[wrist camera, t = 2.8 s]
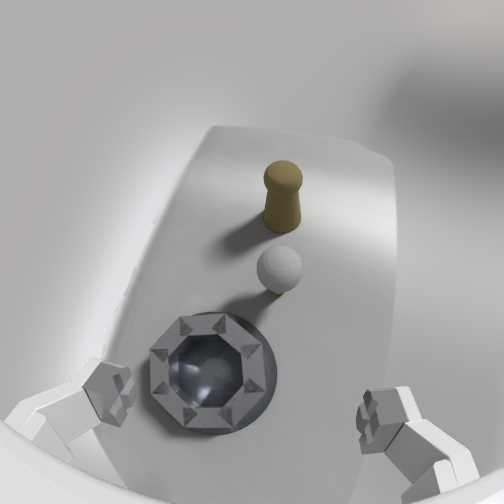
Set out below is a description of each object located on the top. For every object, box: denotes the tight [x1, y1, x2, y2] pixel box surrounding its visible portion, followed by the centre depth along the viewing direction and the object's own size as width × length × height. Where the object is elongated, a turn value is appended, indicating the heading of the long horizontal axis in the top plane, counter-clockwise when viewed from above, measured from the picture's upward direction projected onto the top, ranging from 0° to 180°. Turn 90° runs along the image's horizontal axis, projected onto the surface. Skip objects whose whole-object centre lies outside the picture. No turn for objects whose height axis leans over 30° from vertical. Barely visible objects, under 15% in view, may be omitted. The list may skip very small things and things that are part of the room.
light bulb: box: [257, 245, 303, 295], centre depth 35 cm, size 6×6×10 cm
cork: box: [263, 160, 303, 233], centre depth 40 cm, size 6×6×11 cm
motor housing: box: [150, 312, 277, 434], centre depth 33 cm, size 17×17×5 cm
